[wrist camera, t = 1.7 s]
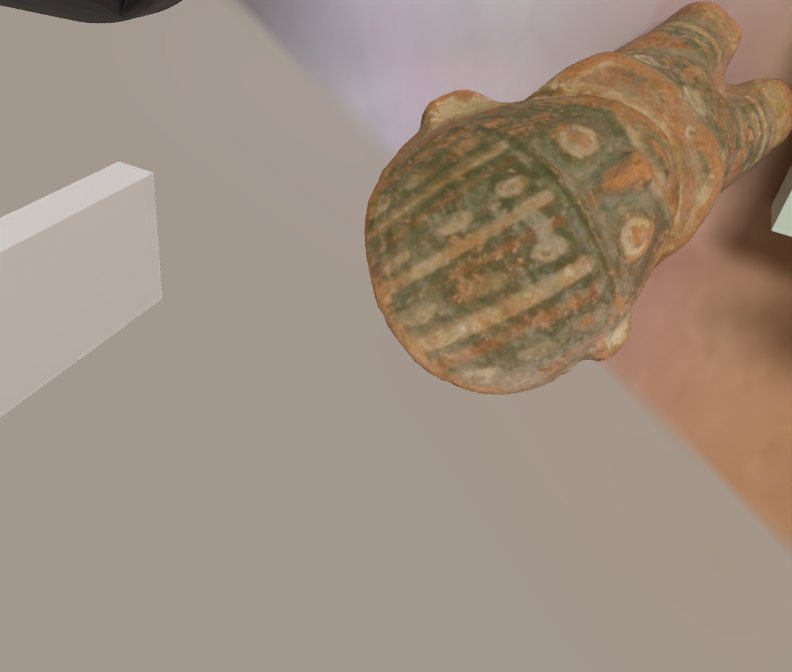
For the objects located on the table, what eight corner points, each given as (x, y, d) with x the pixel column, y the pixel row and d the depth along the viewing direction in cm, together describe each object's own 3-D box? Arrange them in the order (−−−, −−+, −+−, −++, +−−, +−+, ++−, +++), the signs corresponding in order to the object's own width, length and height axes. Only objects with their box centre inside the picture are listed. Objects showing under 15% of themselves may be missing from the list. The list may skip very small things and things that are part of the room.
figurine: (812, 105, 25) (841, 323, 13) (618, 241, 30) (518, 483, 18) (649, -93, 24) (528, -43, 12) (478, 83, 29) (280, 234, 17)
